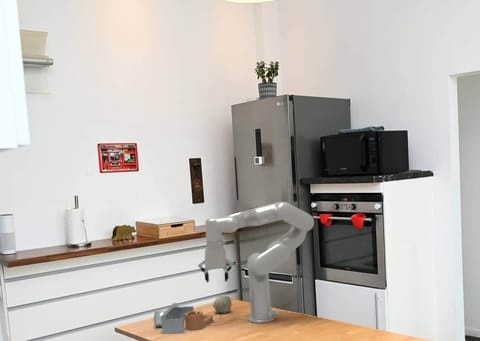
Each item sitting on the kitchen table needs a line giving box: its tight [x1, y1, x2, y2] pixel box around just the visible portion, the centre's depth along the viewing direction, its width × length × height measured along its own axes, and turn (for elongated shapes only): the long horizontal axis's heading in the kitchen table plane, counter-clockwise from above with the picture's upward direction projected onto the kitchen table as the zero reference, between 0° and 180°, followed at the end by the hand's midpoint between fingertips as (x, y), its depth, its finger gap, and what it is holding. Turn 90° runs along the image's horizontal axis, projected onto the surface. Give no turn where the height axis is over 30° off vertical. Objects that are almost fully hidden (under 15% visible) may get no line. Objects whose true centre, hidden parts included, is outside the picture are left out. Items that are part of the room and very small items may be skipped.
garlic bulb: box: [212, 294, 232, 314], centre depth 247 cm, size 9×8×10 cm
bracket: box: [184, 310, 214, 332], centre depth 227 cm, size 18×8×7 cm, turn 157°
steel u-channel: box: [153, 302, 195, 335], centre depth 228 cm, size 16×24×8 cm, turn 175°
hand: (216, 281), depth 227 cm, fingers open, 8 cm apart
